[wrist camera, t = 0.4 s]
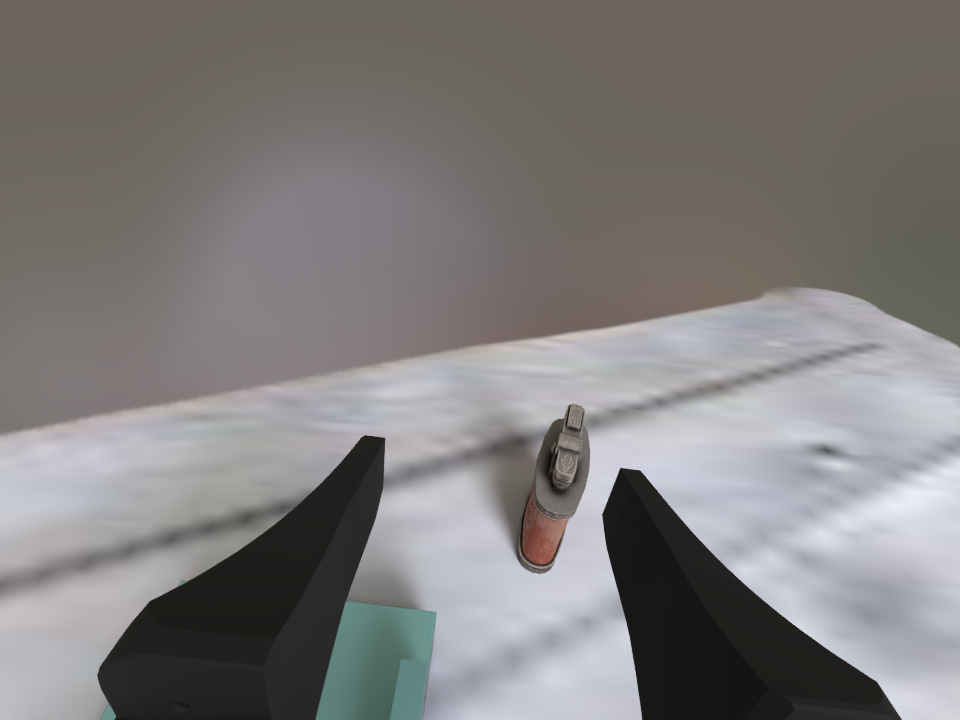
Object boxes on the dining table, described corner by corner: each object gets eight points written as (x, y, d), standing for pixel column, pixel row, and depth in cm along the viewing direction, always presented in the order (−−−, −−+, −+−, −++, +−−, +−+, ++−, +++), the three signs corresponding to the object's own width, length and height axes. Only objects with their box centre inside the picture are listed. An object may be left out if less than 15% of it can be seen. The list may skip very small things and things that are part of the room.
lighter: (556, 580, 31) (594, 495, 25) (508, 564, 32) (534, 477, 26) (570, 487, 37) (604, 400, 31) (531, 475, 38) (556, 387, 32)
